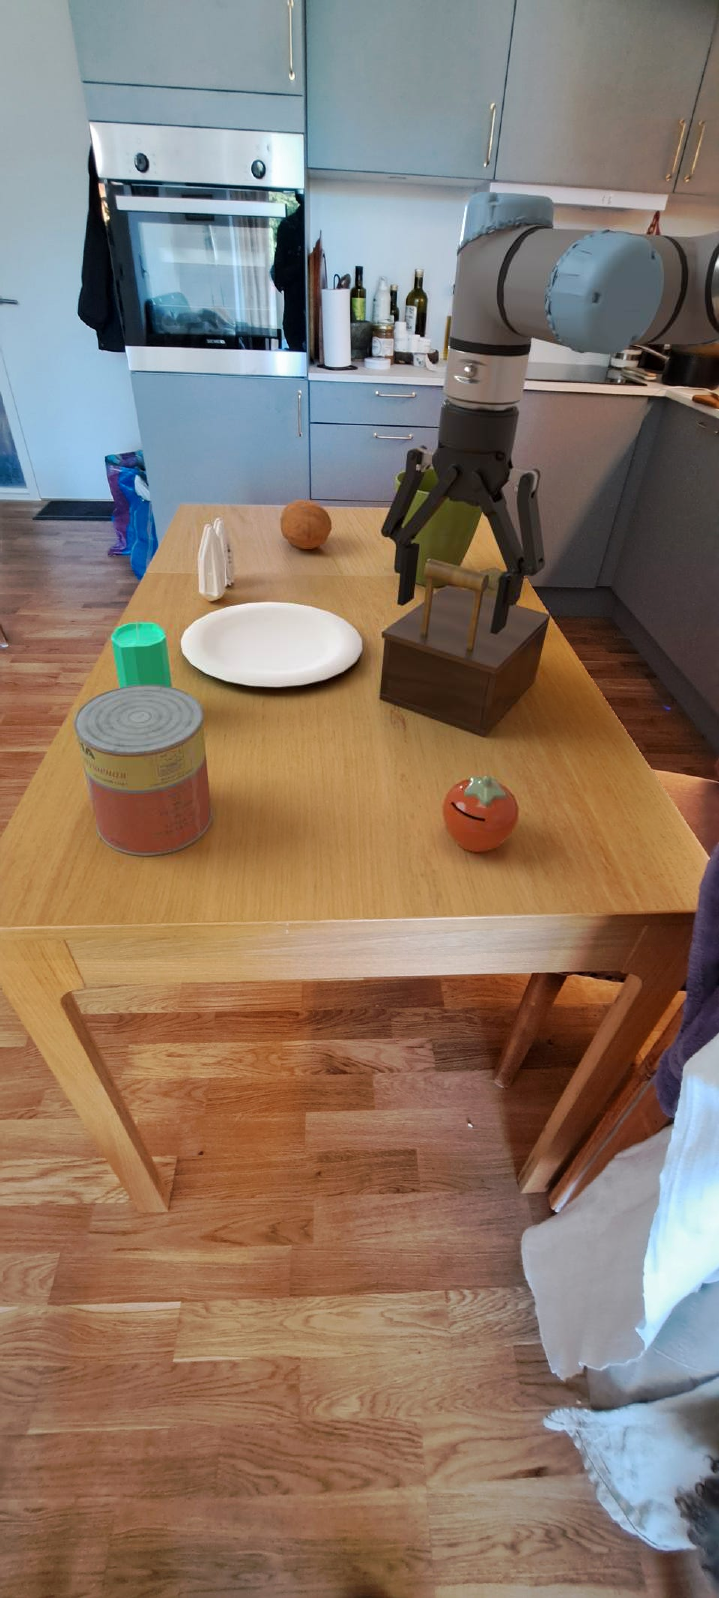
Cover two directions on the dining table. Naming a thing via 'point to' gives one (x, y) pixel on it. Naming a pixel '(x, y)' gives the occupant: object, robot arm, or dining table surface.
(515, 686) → the dark wooden box
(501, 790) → the tomato
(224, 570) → the shaker set
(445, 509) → the flower pot
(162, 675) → the candle
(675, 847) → the dining table surface
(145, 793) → the canned food
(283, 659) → the plate
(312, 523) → the brown coconut
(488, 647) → the lid
